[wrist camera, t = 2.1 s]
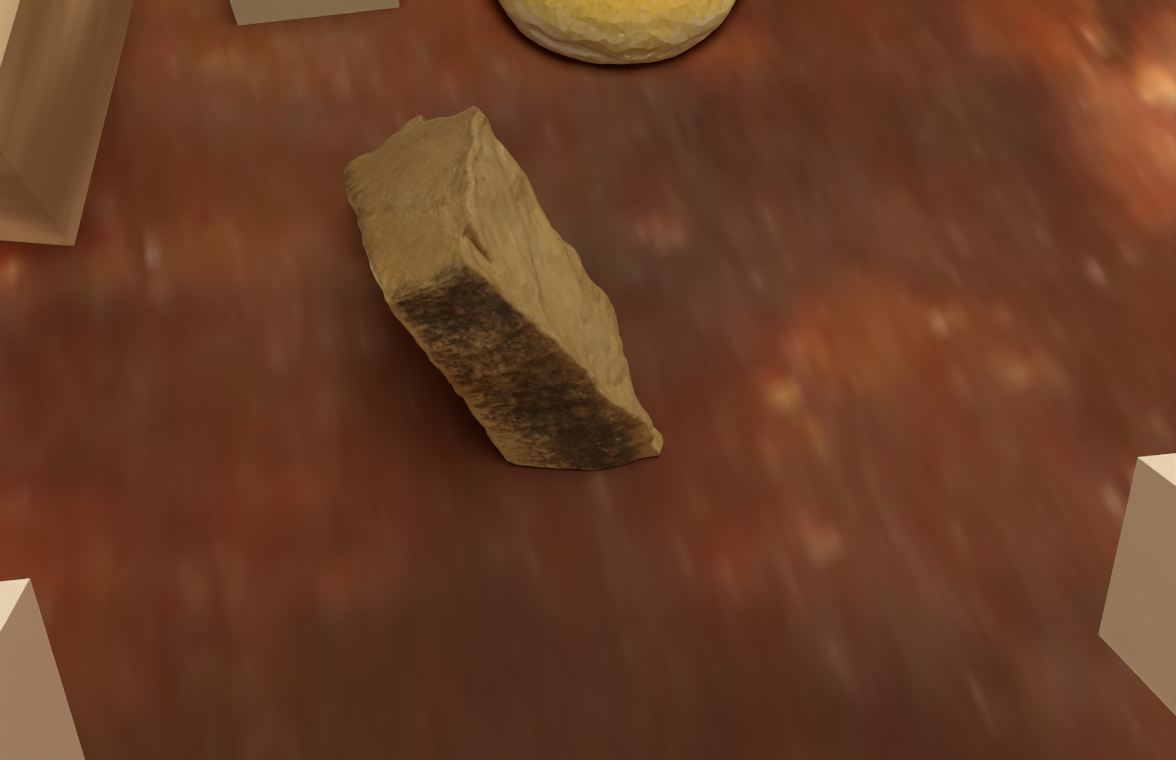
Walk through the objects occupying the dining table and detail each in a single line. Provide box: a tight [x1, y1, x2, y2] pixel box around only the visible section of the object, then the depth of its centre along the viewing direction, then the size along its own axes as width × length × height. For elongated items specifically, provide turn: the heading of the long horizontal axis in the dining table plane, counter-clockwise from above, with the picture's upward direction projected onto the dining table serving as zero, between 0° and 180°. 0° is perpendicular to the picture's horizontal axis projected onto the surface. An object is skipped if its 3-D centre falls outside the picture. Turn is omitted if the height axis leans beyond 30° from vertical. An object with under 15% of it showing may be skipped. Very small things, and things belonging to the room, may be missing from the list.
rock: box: [344, 106, 663, 470], centre depth 27 cm, size 11×9×10 cm
